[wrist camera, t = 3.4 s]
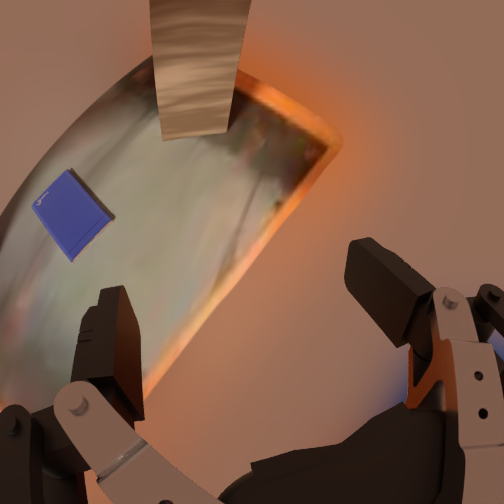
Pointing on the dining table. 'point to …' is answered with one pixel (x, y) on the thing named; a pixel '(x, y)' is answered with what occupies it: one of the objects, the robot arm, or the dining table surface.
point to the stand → (196, 63)
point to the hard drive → (71, 215)
